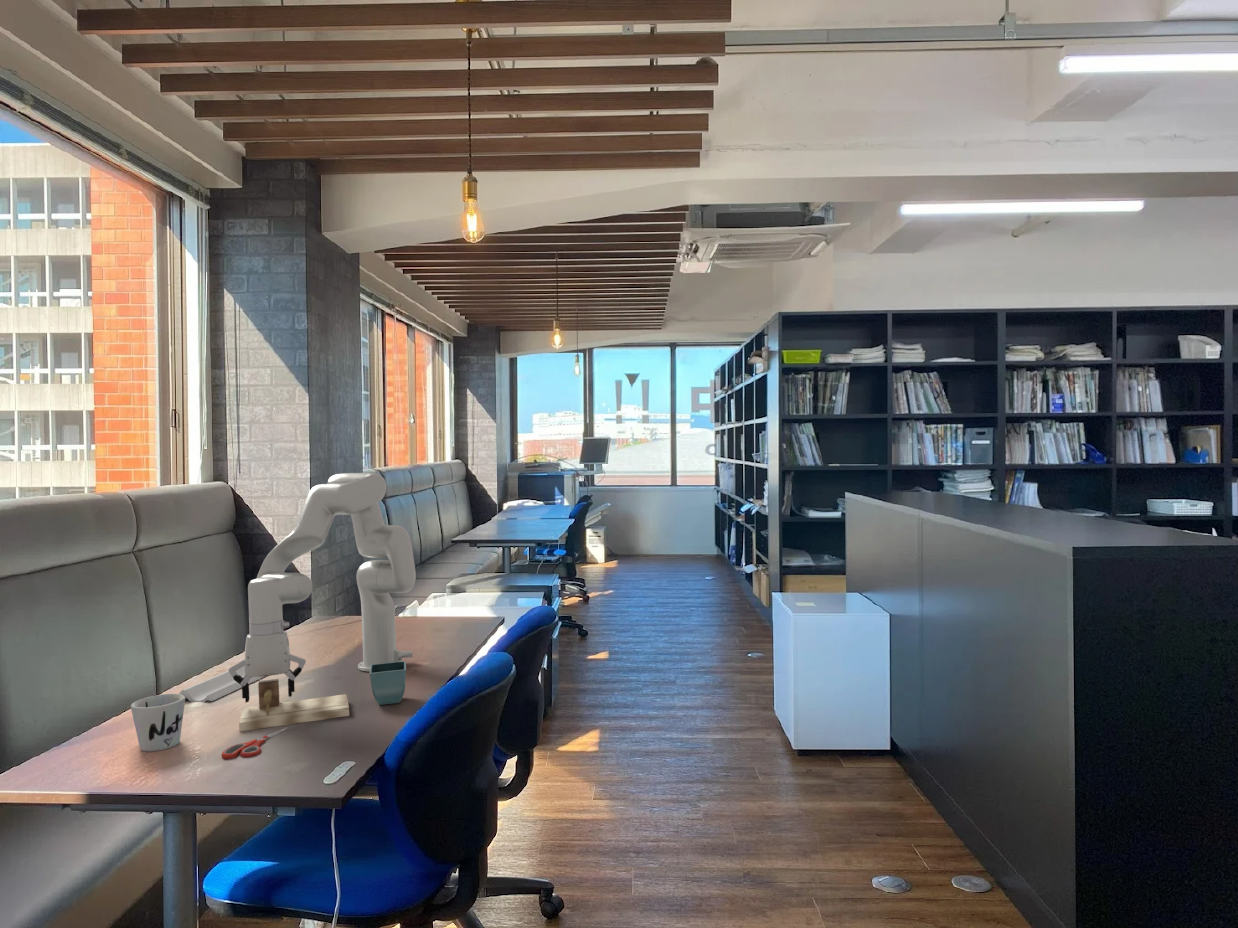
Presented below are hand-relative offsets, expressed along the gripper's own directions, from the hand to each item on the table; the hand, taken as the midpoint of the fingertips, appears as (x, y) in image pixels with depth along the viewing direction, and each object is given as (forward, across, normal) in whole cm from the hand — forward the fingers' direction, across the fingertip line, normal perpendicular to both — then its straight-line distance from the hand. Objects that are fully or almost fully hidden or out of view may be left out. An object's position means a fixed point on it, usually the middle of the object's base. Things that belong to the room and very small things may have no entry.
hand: (269, 697), depth 195 cm
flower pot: (+4, -28, +4) cm, 29 cm away
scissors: (+5, +2, +20) cm, 20 cm away
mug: (+4, +23, +11) cm, 26 cm away
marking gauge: (+3, 0, +4) cm, 5 cm away
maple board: (+4, -6, +5) cm, 9 cm away
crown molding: (+5, +11, -34) cm, 37 cm away
